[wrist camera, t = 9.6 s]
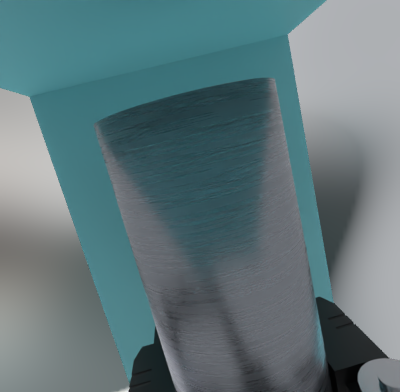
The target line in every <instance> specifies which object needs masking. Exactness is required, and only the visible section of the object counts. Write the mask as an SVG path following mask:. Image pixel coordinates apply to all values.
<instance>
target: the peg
mask: <svg viewBox="0 0 400 392" xmlns="http://www.w3.org/2000/svg"><path fill="white" fill-rule="evenodd" d="M93 126H94V129H95V132H96V136H97V139H98V142H99V145H100V148H101V152H102V155H103V158H104V161H105V165H106V168H107V171H108V174H109V177H110V181H111V184H112V187H113V190H114V193H115V197H116V200H117V203H118V206H119V210H120V213H121V216H122V219H123V222H124V226H125V229H126V232H127V235H128V239H129V242H130V245H131V248H132V251H133V255H134V258H135V261H136V264H137V268H138V271H139V274H140V277H141V280H142V284H143V287H144V290H145V293H146V297H147V300H148V303H149V306H150V309H151V313H152V316H153V319H154V322H155V326H156V329H157V332H158V335H159V338H160V342H161V345H162V348H163V351H164V355H165V358H166V361H167V364H168V367H169V371H170V374H171V377H172V380H173V384H174V387H175V390H176V392H333V390H332V385H331V380H330V374H329V369H328V363H327V358H326V353H325V347H324V342H323V336H322V331H321V326H320V320H319V315H318V309H317V304H316V299H315V293H314V288H313V282H312V277H311V272H310V266H309V261H308V256H307V250H306V245H305V239H304V234H303V229H302V223H301V218H300V212H299V207H298V202H297V196H296V191H295V185H294V180H293V175H292V169H291V164H290V158H289V153H288V148H287V142H286V137H285V131H284V126H283V121H282V115H281V110H280V104H279V99H278V94H277V88H276V83H275V79H274V78H254V79H247V80H241V81H235V82H230V83H224V84H219V85H215V86H210V87H205V88H201V89H197V90H193V91H189V92H185V93H181V94H177V95H173V96H169V97H166V98H162V99H158V100H155V101H151V102H148V103H145V104H141V105H138V106H135V107H132V108H129V109H126V110H123V111H120V112H118V113H115V114H112V115H110V116H107V117H105V118H103V119H101V120H99V121H97V122H96V123H94V125H93Z"/></svg>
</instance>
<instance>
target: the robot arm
mask: <svg viewBox="0 0 400 392" xmlns="http://www.w3.org/2000/svg"><path fill="white" fill-rule="evenodd" d="M315 299H316V304H317V309H318V315H319V320H320V326H321V331H322V336H323V342H324V347H325V353H326V358H327V363H328V369H329V374H330V380H331V385H332V390H333V392H400V361H399V360H395V359H389V358H388V357H387V356H386V355H385V354H384V353H383V352H382V351H381V350H380V349H379V348H378V347H377V346H376V345H375V344H374V343H373V342H372V341H371V340H370V339H369V338H368V337H367V336H366V335H365V334H364V333H363V332H362V331H361V330H360V329H359V328H358V327H357V326H356V325H354V324H353V322H352V321H351V320H350V319H349V318H348V317H347V316H345V314H344V313H343V312H342V311H341V310H340V309H339V308H338V307H337V306H336V305H335V303H333V302H330V301H328V300H326V299H324V298H322V297H316V298H315ZM131 375H132V377H131V380H130V386H129V387H130V390H129V392H176V390H175V387H174V384H173V380H172V377H171V374H170V371H169V367H168V364H167V361H166V358H165V355H164V351H163V348H162V345H161V342H160V338H159V335H158V332H157V329H156V326H155V333H154V343H153V344H150V345H146V346H143V347H142V348H141V349H140V351H139V353H138V354H137V356H136V357H135V359H134V362H133V368H132V374H131Z"/></svg>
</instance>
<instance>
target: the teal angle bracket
mask: <svg viewBox="0 0 400 392" xmlns="http://www.w3.org/2000/svg"><path fill="white" fill-rule="evenodd" d="M325 1H326V0H0V88H2V89H6V90H9V91H13V92H16V93H19V94H22V95H26V96H29V97H30V99H31V103H32V105H33V108H34V111H35V114H36V117H37V120H38V123H39V126H40V128H41V131H42V134H43V137H44V140H45V142H46V146H47V148H48V151H49V154H50V157H51V160H52V163H53V166H54V169H55V171H56V174H57V177H58V180H59V183H60V186H61V188H62V191H63V194H64V197H65V200H66V203H67V206H68V209H69V211H70V214H71V217H72V220H73V223H74V226H75V228H76V231H77V234H78V237H79V240H80V243H81V246H82V249H83V252H84V254H85V257H86V260H87V263H88V266H89V269H90V271H91V274H92V277H93V280H94V283H95V286H96V289H97V292H98V295H99V297H100V300H101V303H102V306H103V309H104V312H105V314H106V318H107V320H108V323H109V326H110V329H111V332H112V335H113V338H114V340H115V343H116V346H117V349H118V352H119V355H120V358H121V360H122V363H123V366H124V369H125V372H126V375H127V378H128V381H129V383H130V380H131V377H132V375H131V374H132V368H133V362H134V359H135V357H136V356H137V354H138V353H139V351H140V349H141V348H142V347H143V346H146V345H150V344H153V343H154V333H155V322H154V319H153V316H152V313H151V309H150V306H149V303H148V300H147V297H146V293H145V290H144V287H143V284H142V280H141V277H140V274H139V271H138V268H137V264H136V261H135V258H134V255H133V251H132V248H131V245H130V242H129V239H128V235H127V232H126V229H125V226H124V222H123V219H122V216H121V213H120V210H119V206H118V203H117V200H116V197H115V193H114V190H113V187H112V184H111V181H110V177H109V174H108V171H107V168H106V165H105V161H104V158H103V155H102V152H101V148H100V145H99V142H98V139H97V136H96V132H95V129H94V126H93V125H94V123H96V122H97V121H99V120H101V119H103V118H105V117H107V116H110V115H112V114H115V113H118V112H120V111H123V110H126V109H129V108H132V107H135V106H138V105H141V104H145V103H148V102H151V101H155V100H158V99H162V98H166V97H169V96H173V95H177V94H181V93H185V92H189V91H193V90H197V89H201V88H205V87H210V86H215V85H219V84H224V83H230V82H235V81H241V80H247V79H254V78H274V79H275V83H276V88H277V94H278V99H279V104H280V110H281V115H282V121H283V126H284V131H285V137H286V142H287V148H288V153H289V158H290V164H291V169H292V175H293V180H294V185H295V191H296V196H297V202H298V207H299V212H300V218H301V223H302V229H303V234H304V239H305V245H306V250H307V256H308V261H309V266H310V272H311V277H312V282H313V288H314V293H315V298H316V297H322V298H324V299H326V300H328V301H330V302H333V297H332V291H331V285H330V280H329V273H328V267H327V262H326V256H325V250H324V244H323V239H322V233H321V227H320V221H319V215H318V209H317V204H316V198H315V192H314V186H313V180H312V175H311V168H310V163H309V157H308V151H307V146H306V140H305V134H304V128H303V123H302V116H301V110H300V105H299V99H298V93H297V88H296V82H295V75H294V69H293V64H292V58H291V52H290V46H289V40H288V34H289V33H290V32H291V31H292V30H293V29H294V28H295V27H297V26H298V25H299V24H300V23H301V22H302V21H304V20H305V19H306V18H307V17H308V16H309V15H310V14H311V13H313V12H314V11H315V10H316V9H317V8H318V7H319V6H321V5H322V4H323V3H324V2H325ZM333 303H334V302H333Z"/></svg>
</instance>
